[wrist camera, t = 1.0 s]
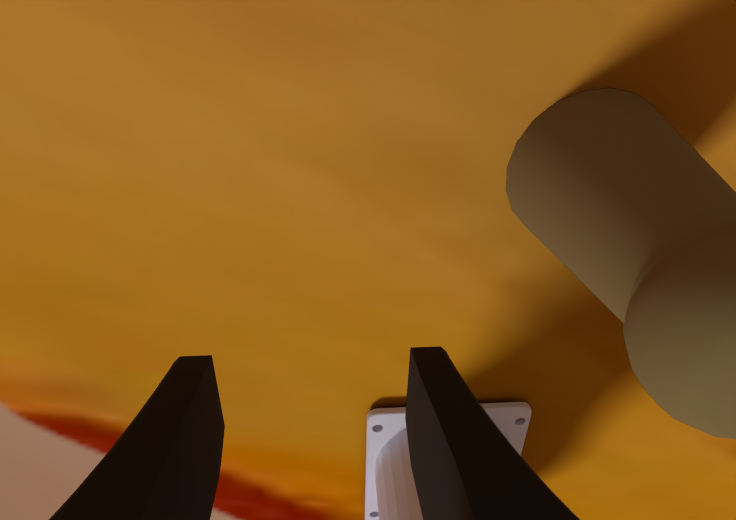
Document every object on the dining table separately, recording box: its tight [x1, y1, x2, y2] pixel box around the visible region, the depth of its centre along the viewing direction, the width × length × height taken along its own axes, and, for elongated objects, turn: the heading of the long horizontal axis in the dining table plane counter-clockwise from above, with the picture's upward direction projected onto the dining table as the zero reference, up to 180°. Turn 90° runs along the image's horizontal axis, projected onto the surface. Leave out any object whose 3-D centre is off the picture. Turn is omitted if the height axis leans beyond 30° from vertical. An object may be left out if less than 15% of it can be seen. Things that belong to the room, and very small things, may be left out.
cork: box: [506, 88, 736, 439], centre depth 16 cm, size 6×6×11 cm
